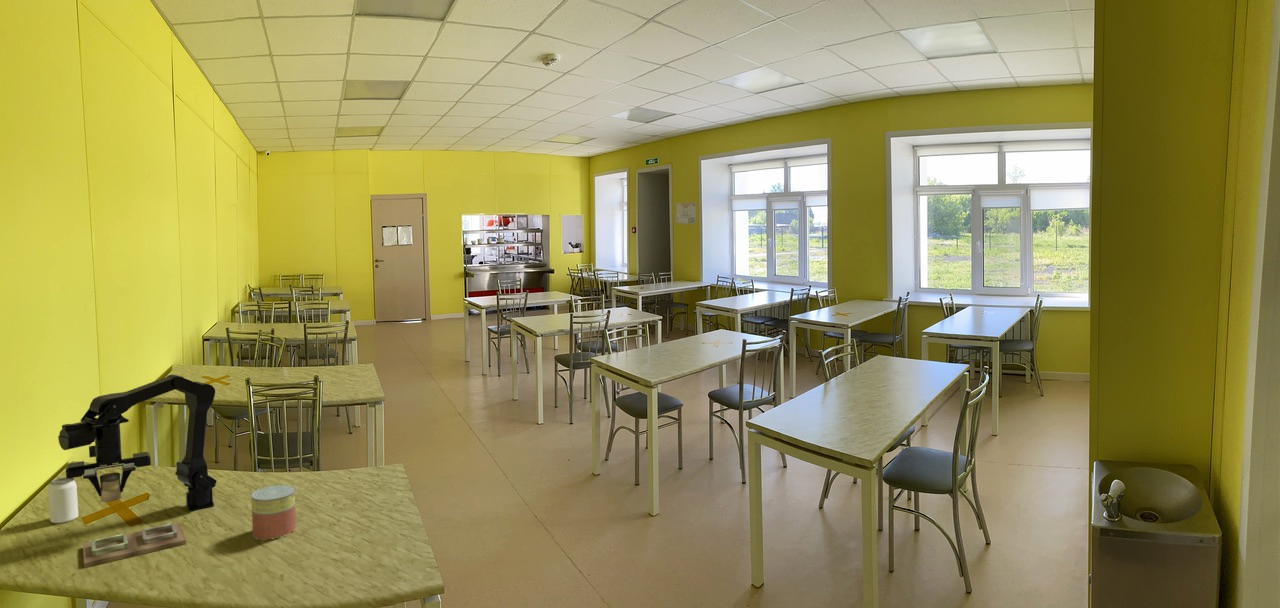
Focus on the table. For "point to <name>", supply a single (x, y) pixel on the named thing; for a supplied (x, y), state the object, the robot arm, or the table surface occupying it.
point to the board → (132, 544)
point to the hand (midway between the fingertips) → (110, 493)
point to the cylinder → (110, 487)
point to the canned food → (273, 511)
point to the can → (63, 500)
